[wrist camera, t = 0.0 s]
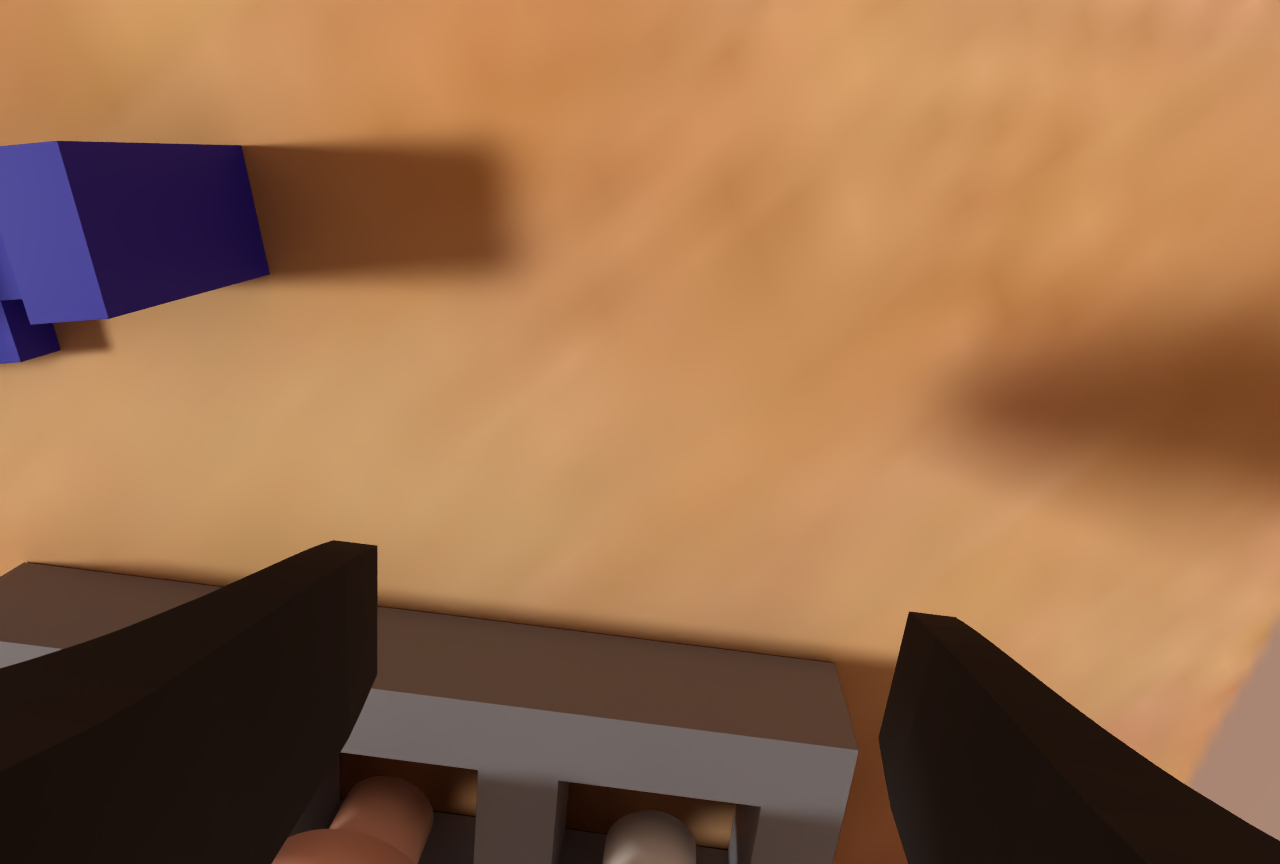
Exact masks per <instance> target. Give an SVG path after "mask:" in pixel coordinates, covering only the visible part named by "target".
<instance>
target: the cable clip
mask: <svg viewBox="0 0 1280 864" xmlns="http://www.w3.org/2000/svg"><path fill="white" fill-rule="evenodd" d="M269 274H270V273H269V268H268V264H267V259H266V255H265V250H264V246H263V241H262V237H261V232H260V228H259V223H258V219H257V214H256V210H255V205H254V201H253V196H252V192H251V187H250V183H249V178H248V174H247V169H246V165H245V160H244V156H243V151H242V147H241V146H240V145H199V144H159V143H118V142H78V141H52V142H41V143H30V144H20V145H9V146H0V364H4V363H16V362H23V361H26V360H29V359H33V358H36V357H39V356H43V355H46V354H49V353H52V352H56V351H59V350H61V349H60V346H59V343H58V339H57V336H56V333H55V330H54V326H53V323H58V322H72V321H85V320H99V319H110V318H113V317H117V316H120V315H124V314H128V313H131V312H135V311H139V310H142V309H146V308H149V307H153V306H157V305H160V304H164V303H168V302H171V301H175V300H178V299H182V298H186V297H189V296H193V295H197V294H200V293H204V292H207V291H211V290H215V289H218V288H222V287H226V286H229V285H233V284H236V283H240V282H244V281H247V280H251V279H255V278H258V277H262V276H265V275H269Z"/></svg>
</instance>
